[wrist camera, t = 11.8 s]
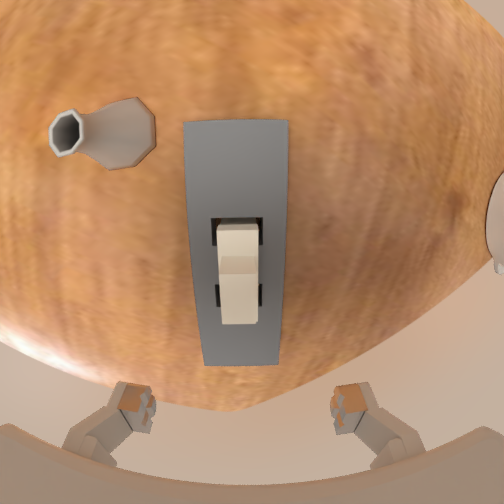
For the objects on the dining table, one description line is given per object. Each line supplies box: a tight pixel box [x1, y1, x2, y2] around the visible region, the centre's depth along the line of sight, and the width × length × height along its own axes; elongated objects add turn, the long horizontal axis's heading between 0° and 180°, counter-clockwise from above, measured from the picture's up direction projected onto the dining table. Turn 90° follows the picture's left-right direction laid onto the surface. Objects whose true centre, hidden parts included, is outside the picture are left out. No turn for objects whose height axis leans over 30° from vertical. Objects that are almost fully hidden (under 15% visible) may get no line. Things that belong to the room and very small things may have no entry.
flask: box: [49, 97, 156, 171], centre depth 18 cm, size 7×7×10 cm
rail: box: [184, 119, 288, 366], centre depth 25 cm, size 8×24×4 cm, turn 0°
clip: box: [217, 217, 258, 324], centre depth 23 cm, size 3×8×10 cm, turn 0°
